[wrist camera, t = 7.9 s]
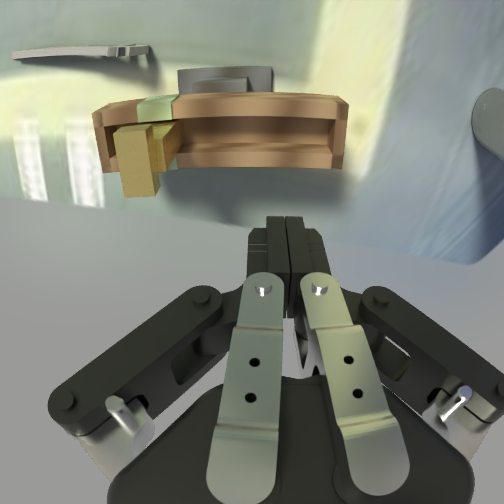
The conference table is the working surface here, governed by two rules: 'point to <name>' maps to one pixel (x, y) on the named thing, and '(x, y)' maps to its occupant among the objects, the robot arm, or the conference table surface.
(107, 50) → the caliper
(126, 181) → the block
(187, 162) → the beam
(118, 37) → the conference table surface
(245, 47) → the conference table surface
